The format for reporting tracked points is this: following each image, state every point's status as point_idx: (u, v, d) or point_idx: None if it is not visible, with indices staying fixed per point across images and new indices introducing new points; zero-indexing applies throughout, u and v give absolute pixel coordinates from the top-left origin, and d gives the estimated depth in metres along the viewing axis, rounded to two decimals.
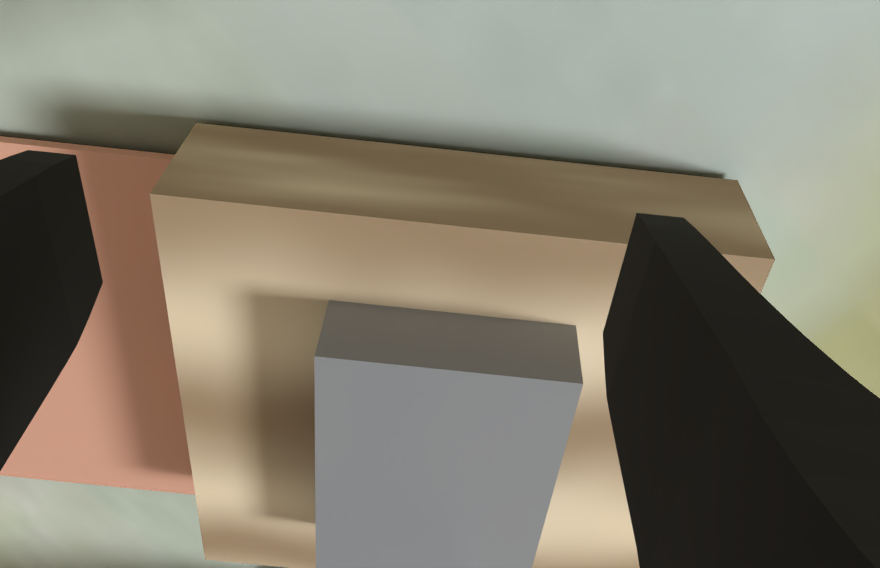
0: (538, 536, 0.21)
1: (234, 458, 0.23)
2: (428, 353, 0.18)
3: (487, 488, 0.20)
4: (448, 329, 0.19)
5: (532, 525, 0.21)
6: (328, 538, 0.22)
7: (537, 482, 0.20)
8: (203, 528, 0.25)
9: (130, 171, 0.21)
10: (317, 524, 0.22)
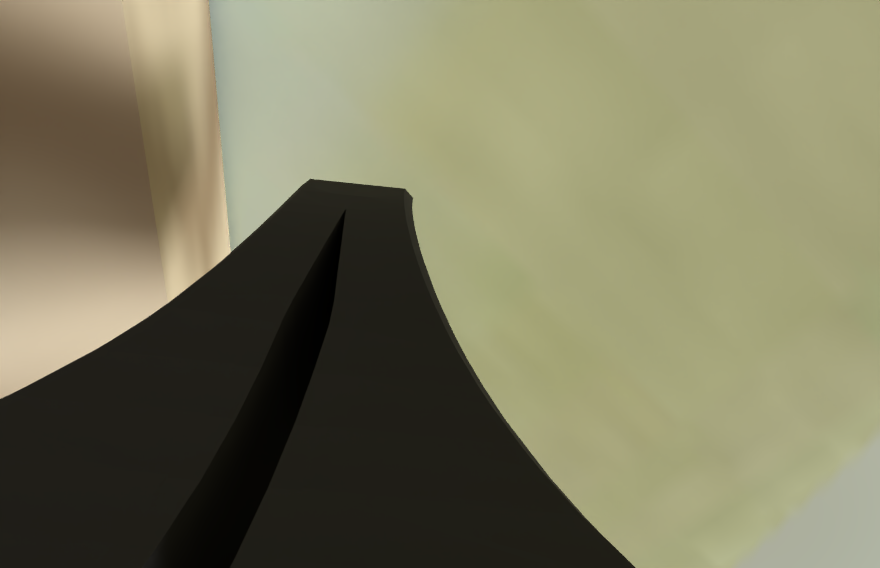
0: None
1: None
2: None
3: None
4: None
5: None
6: None
7: None
8: None
9: None
10: None
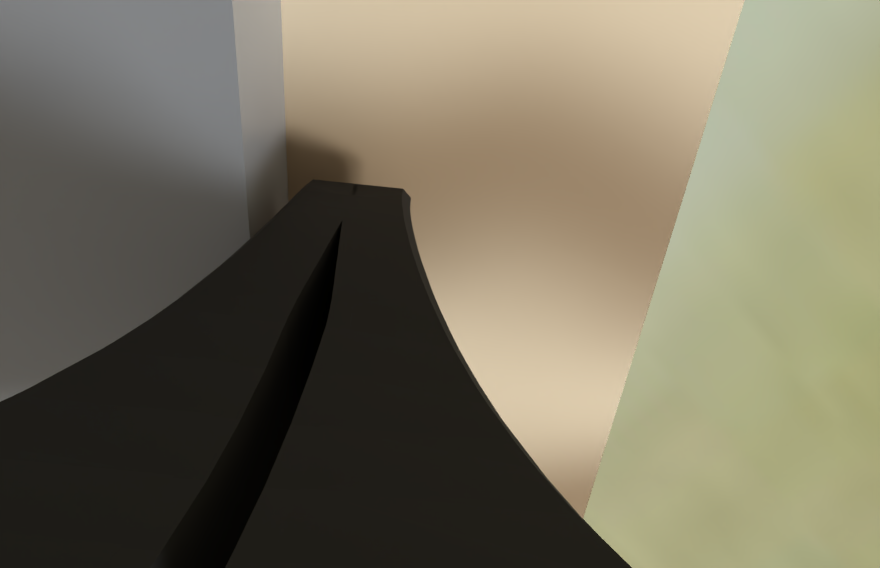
0: None
1: None
2: None
3: (108, 250, 0.09)
4: None
5: None
6: None
7: (210, 231, 0.09)
8: None
9: None
10: None
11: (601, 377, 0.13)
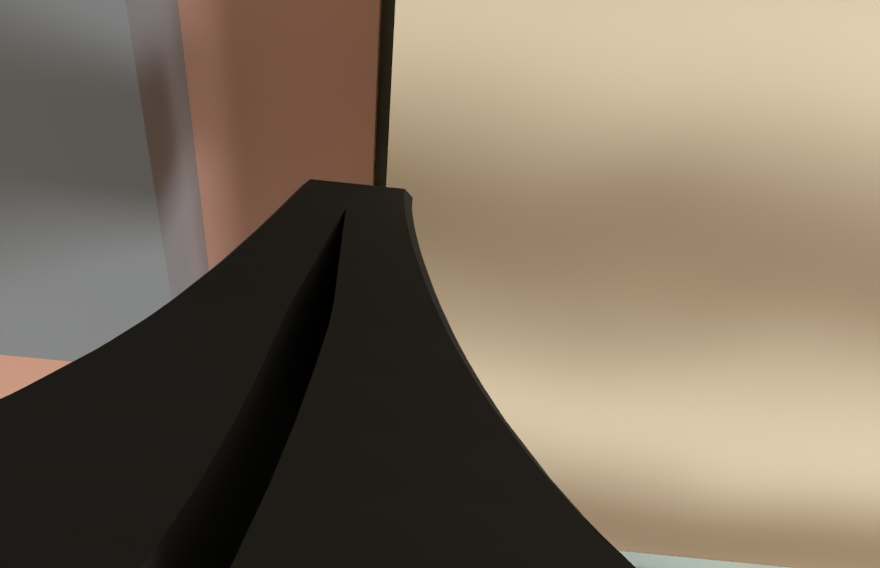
0: None
1: (464, 325, 0.12)
2: None
3: None
4: None
5: None
6: None
7: None
8: None
9: None
10: None
11: None
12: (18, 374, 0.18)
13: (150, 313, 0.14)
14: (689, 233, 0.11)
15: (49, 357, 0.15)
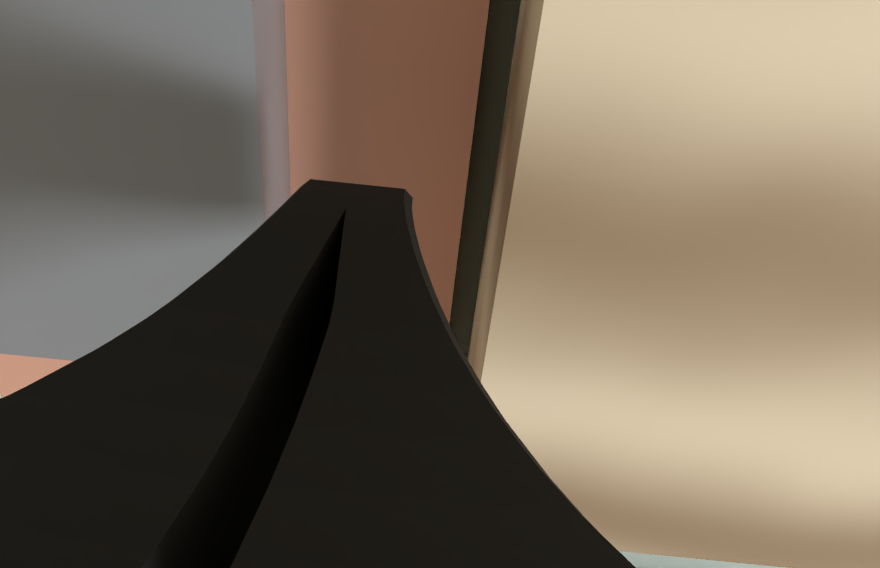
0: None
1: (574, 337, 0.12)
2: None
3: None
4: None
5: None
6: None
7: None
8: None
9: None
10: None
11: None
12: None
13: None
14: (811, 246, 0.11)
15: None
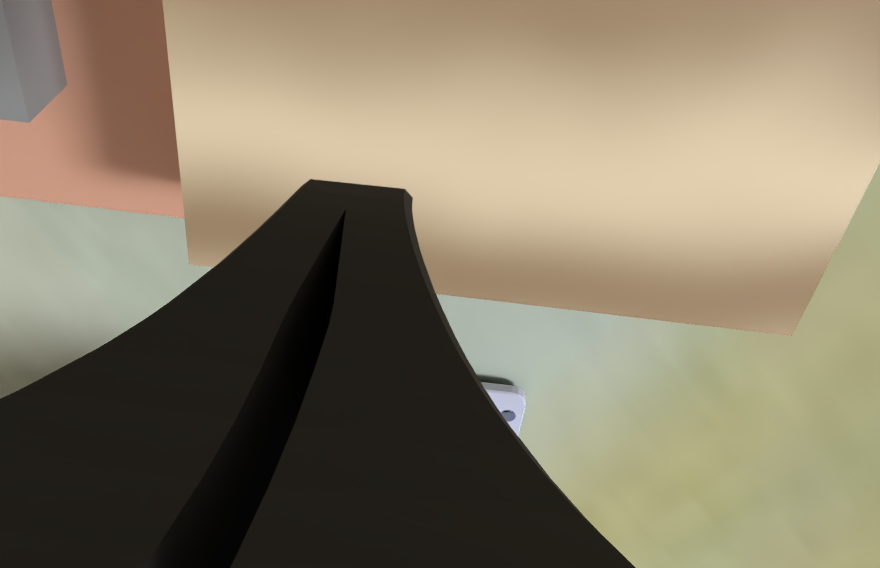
0: None
1: (236, 49, 0.15)
2: None
3: None
4: None
5: None
6: None
7: None
8: (187, 201, 0.17)
9: None
10: None
11: (856, 167, 0.16)
12: None
13: None
14: None
15: None
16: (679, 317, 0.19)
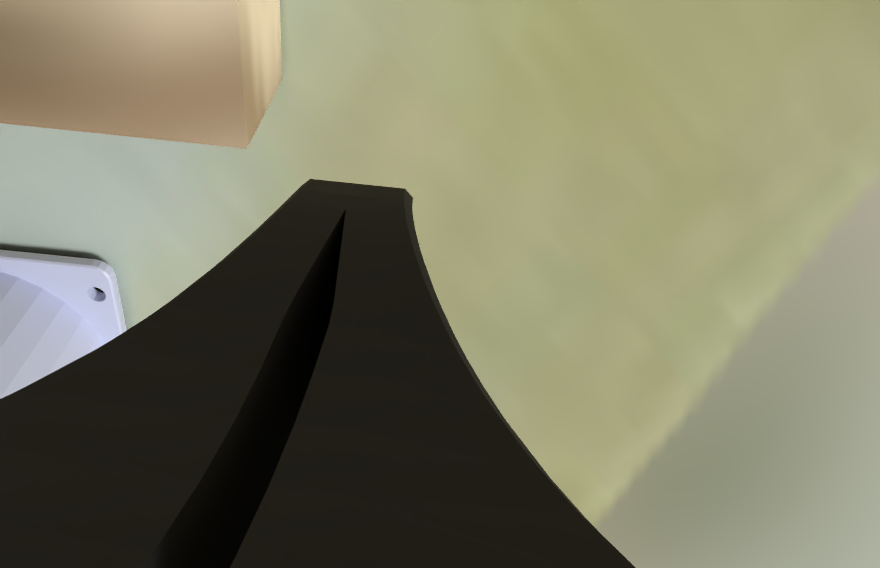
0: None
1: None
2: None
3: None
4: None
5: None
6: None
7: None
8: None
9: None
10: None
11: None
12: None
13: None
14: None
15: None
16: (114, 128, 0.16)
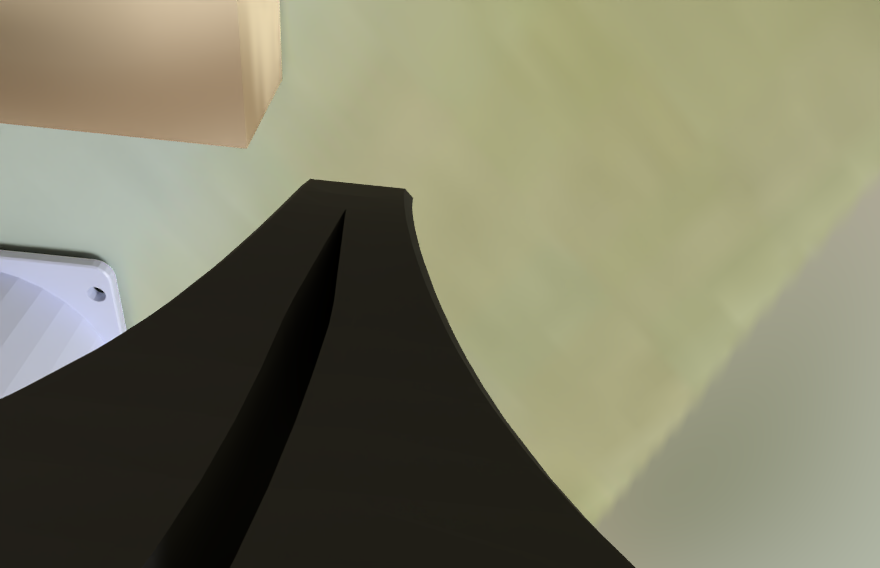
0: None
1: None
2: None
3: None
4: None
5: None
6: None
7: None
8: None
9: None
10: None
11: None
12: None
13: None
14: None
15: None
16: (114, 128, 0.16)
